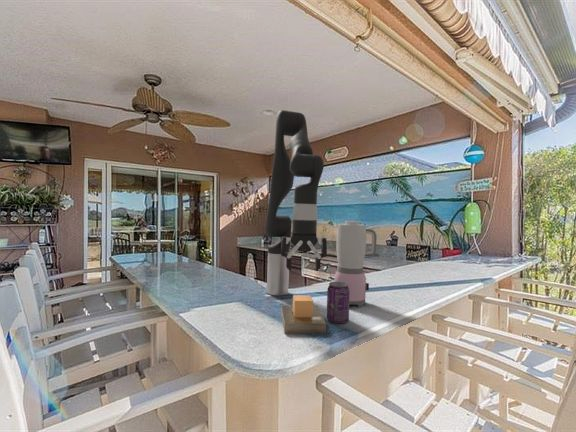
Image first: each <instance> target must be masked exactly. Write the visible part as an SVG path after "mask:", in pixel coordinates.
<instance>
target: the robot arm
mask: <svg viewBox="0 0 576 432" xmlns="http://www.w3.org/2000/svg"><path fill="white" fill-rule="evenodd" d="M275 121H276V122H275V137H274V138H275V140H274V154H273V159H272V166H271V167H272V168H271V177H270V188H269V198H268V206H267V210H266V217H265V222H264V232H265V235H266V236H267V237H271V238H274V237H275V238H279V240H278V241H276V242H275V243H273V244H270V245H269V246H268V248H267V268H266V269H267V270H266V271H267V272H266V273H267V275H266V278H267V279H266V294H268V295H271V296H285V295H288V294H289V281H290V280H289V279H290V278H289V277H290V276H289V275H290V271H292V256H293V255H294V254H295V253H296V252H297V251H298V252H310V251H311V252H312V253H313V254H314V256H315V259H314V270H315V271H316V272H318V271H319V270H320V269H321V262H322V259H323V258H326V257H327V256H328V253H327V251H328V248H327V238H326V237H323V236H322V237H317V226H318V225H317V224H318V223H317V222H318V220H317V219H318V206H317V203H318V201H317V200H318V190H319V184H320V181H321V178H322V175H323V171H324V168H325V167H324V166H325V164H324V160H323V158H322V156H321V155H318V154H314V152H313V148H312V145H311V142H310V141H309V136H308V126H307V120H306V116H305V115H304V114H303V113H302V112H298V111H292V110H291V111H290V110H282V109H281V110H279V111H278V113H277V117H276V120H275ZM285 136H286V137H291V139H290V141H289V151H290V154H291V158H290V156H289V154H288V151H287V149H286V144H285ZM295 177H297V178H298V177H299V178H310V179H309V181H308V183H305V184H304V183H303V184H298V185H296V186H295V188H294V194H293V195H294V197H293V198H294V200H293V210H292V219H291V217H290V216H288V215H282V214H281V215H280V214H279V215H277V213H278V210H279V207H280V205H281V203H282V202H283V200H284V199H285V198H286V197H287V196H288V195H289V193H290V192H291V191H292V188H293V187H294V181H295V179H294V178H295ZM317 243H318V244H319V245H320V247H321V252H320V253H319V252H318V250H317V249H316V247H315V246H316V245H317ZM291 244H292V247H291Z"/></svg>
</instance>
